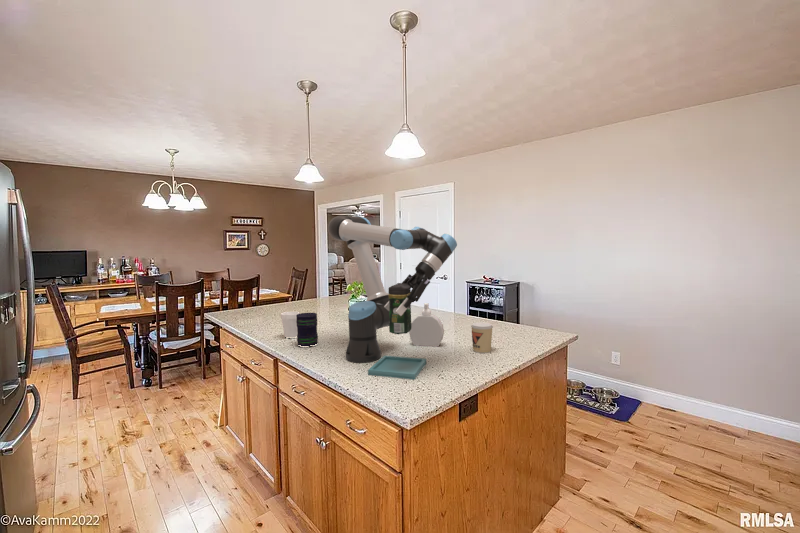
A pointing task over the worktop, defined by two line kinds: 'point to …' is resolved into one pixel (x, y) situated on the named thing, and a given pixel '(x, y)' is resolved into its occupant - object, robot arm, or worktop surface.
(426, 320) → the soap bottle
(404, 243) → the robot arm
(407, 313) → the coffee jar
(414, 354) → the worktop surface
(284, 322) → the foam cup
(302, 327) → the storage jar
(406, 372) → the tray
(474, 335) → the coffee cup
